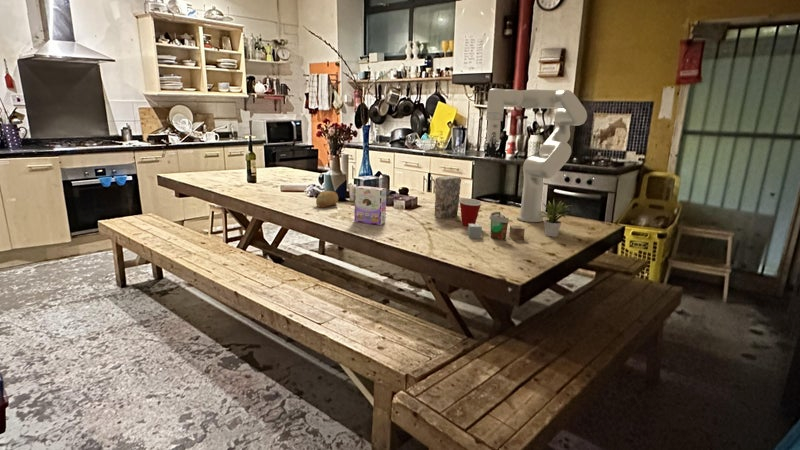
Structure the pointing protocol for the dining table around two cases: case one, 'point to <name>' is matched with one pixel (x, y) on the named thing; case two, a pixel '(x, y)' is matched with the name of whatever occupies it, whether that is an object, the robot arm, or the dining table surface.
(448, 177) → the stone block
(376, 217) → the candy box
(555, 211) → the house plant
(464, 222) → the plastic cup
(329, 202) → the bread roll
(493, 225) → the food container
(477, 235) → the slate-grey block
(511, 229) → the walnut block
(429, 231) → the dining table surface
